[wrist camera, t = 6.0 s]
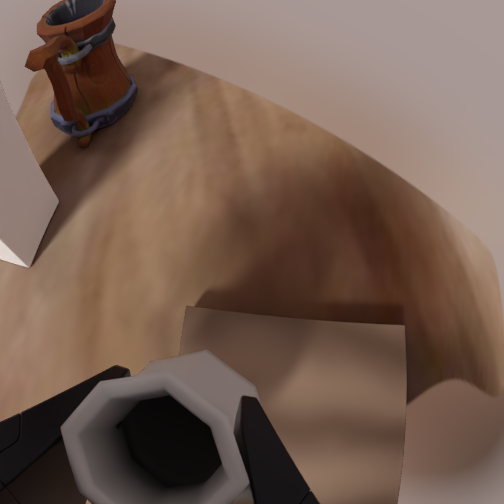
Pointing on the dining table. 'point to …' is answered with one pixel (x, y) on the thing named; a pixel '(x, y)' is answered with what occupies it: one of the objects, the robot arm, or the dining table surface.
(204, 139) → the dining table surface
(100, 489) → the flask
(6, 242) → the milk carton
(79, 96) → the mug
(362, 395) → the walnut board
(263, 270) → the dining table surface
